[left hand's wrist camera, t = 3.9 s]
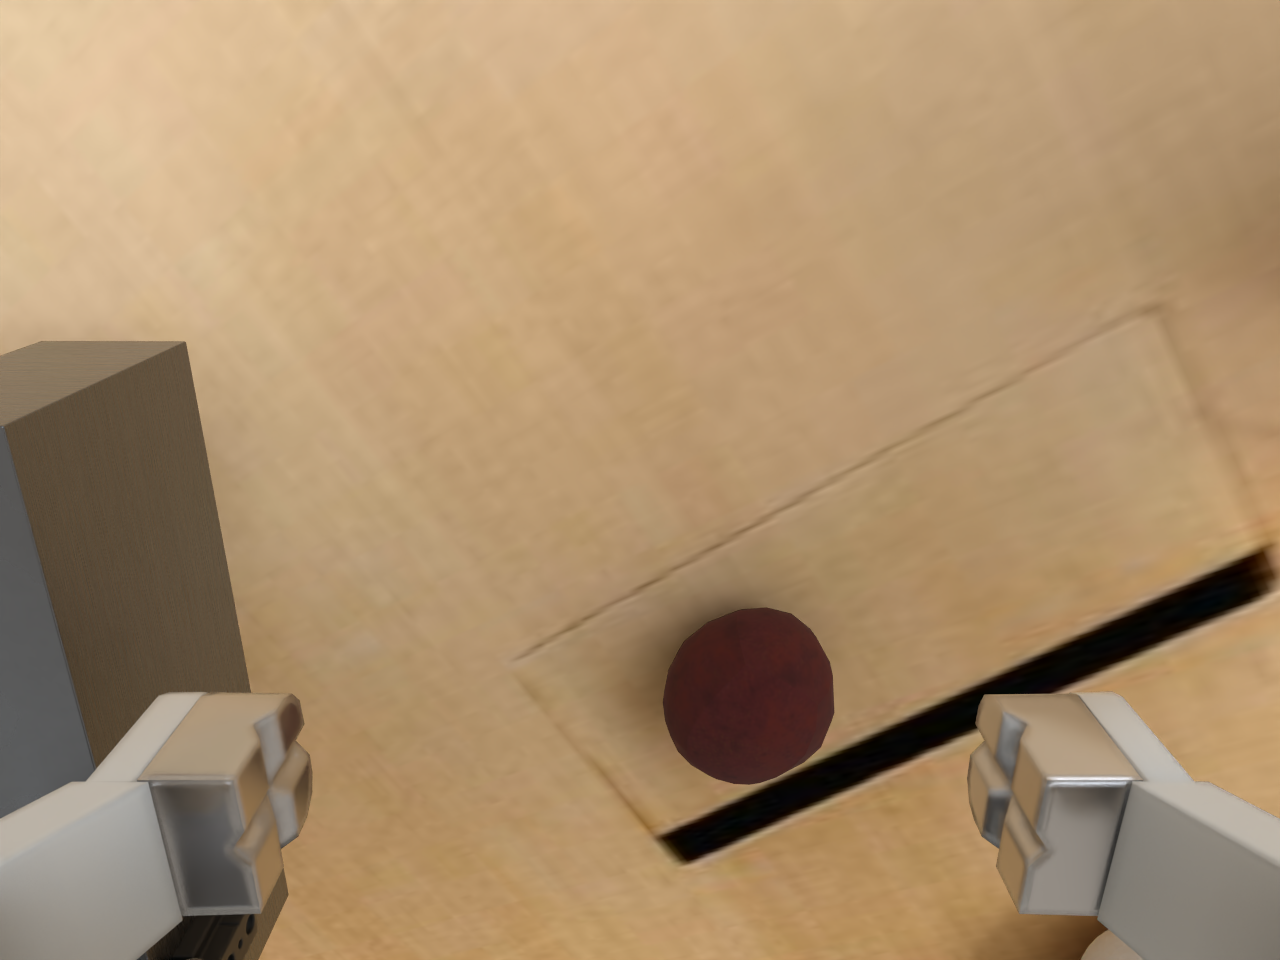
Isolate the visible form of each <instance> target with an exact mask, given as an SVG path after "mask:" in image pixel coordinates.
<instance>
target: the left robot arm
mask: <svg viewBox="0 0 1280 960" xmlns="http://www.w3.org/2000/svg"><path fill="white" fill-rule="evenodd" d="M303 726H304V719H303V715H302V710H301V705H300V700H298V699H297V698H296V697H295V696H294V695H293V694H277V693H230V692H210V693H207V692H168V693H165V694H162V695H159V696H158V697H157V698H156V699H155V700H154V701H153V702H152V704H151V705H150V706H149V707H148V708H147V710H146V711H145V712H144V713H143V714H142V715H141V717H140V718H139V719H138V720H137V721H136V723H135V724H134V725H133V726H132V727H131V728H130V730H129V731H128V732H127V733H126V734H125V735H124V737H123V738H122V739H121V740H120V741H119V743H118V744H117V745H116V746H115V747H114V748H113V750H112V751H111V752H110V753H109V754H108V756H107V757H106V758H105V759H104V760H103V761H102V763H101V764H100V765H99V766H98V767H97V769H96V770H95V771H94V772H93V773H92V774H91V776H90V777H89V778H88V779H87V780H86V781H85V782H70V783H68V784H66V785H64V786H62V787H60V788H59V789H57V790H55V791H53V792H51V793H49V794H47V795H45V796H43V797H41V798H39V799H37V800H35V801H33V802H31V803H30V804H28V805H26V806H24V807H22V808H20V809H18V810H16V811H14V812H12V813H10V814H8V815H6V816H4V817H2V818H1V819H0V960H137V959H138V958H139V957H140V956H141V955H143V954H144V953H145V952H146V951H147V950H148V949H150V948H151V947H152V946H153V945H154V944H155V943H157V942H158V941H159V940H160V939H161V938H162V937H164V936H165V935H166V934H167V933H168V932H169V931H171V930H172V929H173V928H174V927H175V926H176V925H178V924H179V923H180V922H181V921H182V920H183V918H182V916H198V915H233V914H261V913H262V911H263V908H264V906H265V904H266V902H267V900H268V898H269V896H270V894H271V892H272V890H273V888H274V886H275V884H276V882H277V880H278V878H279V875H280V873H281V871H282V869H283V867H284V864H283V859H282V853H281V848H283V847H284V846H286V845H287V844H288V843H290V842H291V841H293V840H294V839H295V838H297V837H298V836H299V834H300V831H301V829H302V827H303V825H304V822H305V820H306V818H307V814H308V810H309V805H310V800H311V795H312V767H311V760H310V755H309V754H308V753H307V752H306V751H305V750H304V749H303V748H302V747H301V746H300V745H299V744H298V743H297V742H296V741H295V740H296V738H297V737H298V735H299V733H300V731H301V729H302V727H303ZM976 726H977V727H978V729H979V731H980V733H981V735H982V737H983V738H984V740H985V741H984V742H983V743H982V744H981V745H980V746H979V747H978V748H977V749H976V750H975V751H974V752H973V753H972V754H971V755H970V761H969V769H968V777H967V781H968V793H969V803H970V807H971V810H972V814H973V817H974V820H975V823H976V825H977V827H978V829H979V831H980V834H981V836H982V837H983V838H985V839H986V840H987V841H989V842H990V843H992V844H993V845H994V846H996V847H997V848H999V853H998V859H997V864H996V867H997V869H998V871H999V873H1000V875H1001V878H1002V880H1003V882H1004V884H1005V886H1006V888H1007V890H1008V892H1009V894H1010V896H1011V898H1012V900H1013V902H1014V904H1015V906H1016V908H1017V910H1018V912H1019V914H1045V915H1081V916H1098V918H1097V920H1098V921H1099V922H1100V923H1102V924H1103V925H1104V926H1105V927H1106V928H1107V929H1109V930H1110V931H1111V932H1112V933H1113V934H1114V935H1116V936H1117V937H1118V938H1119V939H1120V940H1121V941H1123V942H1124V943H1125V944H1126V945H1127V946H1128V947H1130V948H1131V949H1132V950H1133V951H1134V952H1135V953H1137V954H1138V955H1139V956H1140V957H1141V958H1142V959H1144V960H1280V819H1279V818H1277V817H1275V816H1273V815H1272V814H1270V813H1268V812H1266V811H1264V810H1262V809H1260V808H1258V807H1256V806H1254V805H1252V804H1250V803H1248V802H1247V801H1245V800H1243V799H1241V798H1239V797H1237V796H1235V795H1233V794H1231V793H1229V792H1227V791H1225V790H1223V789H1221V788H1220V787H1218V786H1216V785H1214V784H1212V783H1210V782H1195V781H1194V780H1193V779H1192V778H1191V777H1190V776H1189V774H1188V773H1187V772H1186V771H1185V770H1184V769H1183V767H1182V766H1181V765H1180V764H1179V763H1178V761H1177V760H1176V759H1175V758H1174V757H1173V756H1172V754H1171V753H1170V752H1169V751H1168V750H1167V749H1166V747H1165V746H1164V745H1163V744H1162V743H1161V741H1160V740H1159V739H1158V738H1157V737H1156V736H1155V734H1154V733H1153V732H1152V731H1151V730H1150V729H1149V727H1148V726H1147V725H1146V724H1145V723H1144V721H1143V720H1142V719H1141V718H1140V717H1139V716H1138V714H1137V713H1136V712H1135V711H1134V710H1133V709H1132V707H1131V706H1130V705H1129V704H1128V703H1127V701H1126V700H1125V699H1124V698H1123V697H1122V696H1120V695H1118V694H1116V693H1114V692H1112V691H1108V692H1077V693H1069V694H1012V695H984V697H983V699H982V701H981V703H980V705H979V708H978V713H977V719H976Z"/></svg>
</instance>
